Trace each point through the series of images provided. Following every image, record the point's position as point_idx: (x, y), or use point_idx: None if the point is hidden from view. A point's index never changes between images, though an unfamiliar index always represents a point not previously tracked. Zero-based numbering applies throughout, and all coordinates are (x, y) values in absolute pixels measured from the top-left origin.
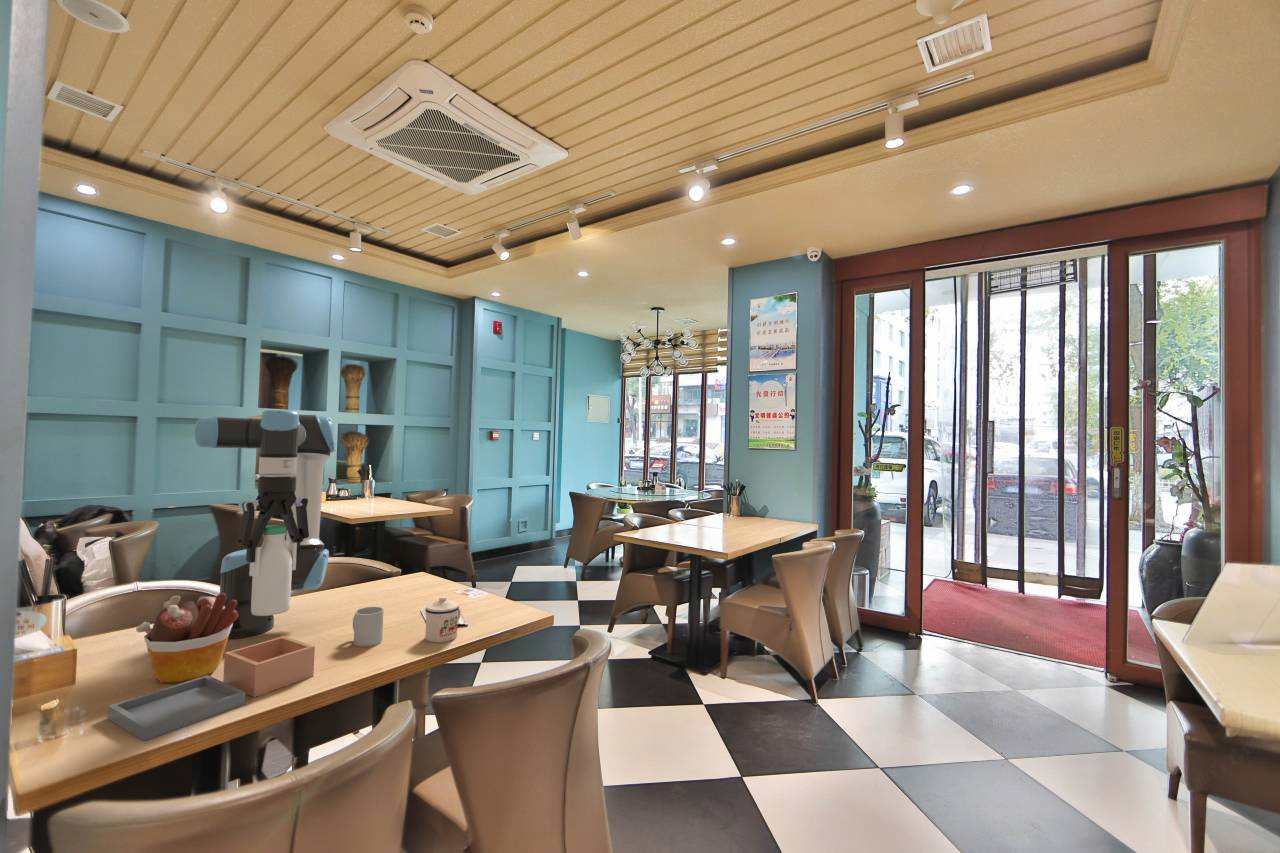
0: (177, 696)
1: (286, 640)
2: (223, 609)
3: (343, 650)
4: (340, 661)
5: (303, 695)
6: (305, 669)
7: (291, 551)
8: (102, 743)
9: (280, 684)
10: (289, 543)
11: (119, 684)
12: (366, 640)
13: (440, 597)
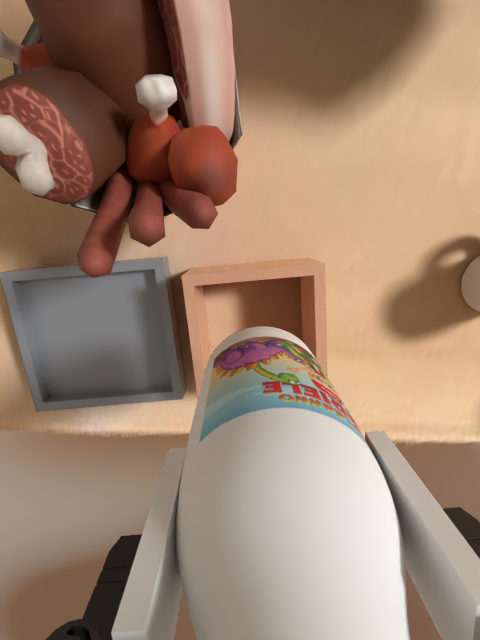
0: (108, 288)
1: (314, 297)
2: (189, 166)
3: (428, 283)
4: (384, 338)
5: None
6: None
7: (420, 577)
8: (4, 362)
9: None
10: (464, 623)
11: None
12: (478, 309)
13: None
